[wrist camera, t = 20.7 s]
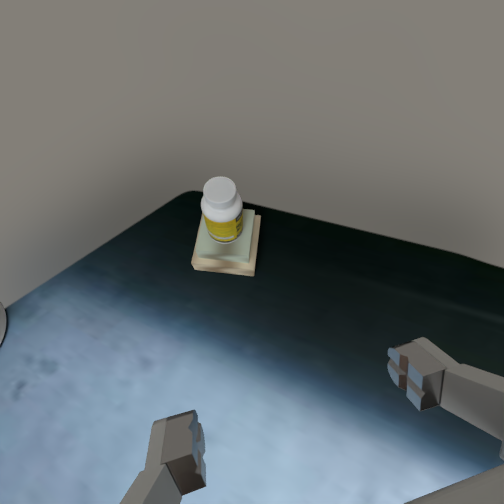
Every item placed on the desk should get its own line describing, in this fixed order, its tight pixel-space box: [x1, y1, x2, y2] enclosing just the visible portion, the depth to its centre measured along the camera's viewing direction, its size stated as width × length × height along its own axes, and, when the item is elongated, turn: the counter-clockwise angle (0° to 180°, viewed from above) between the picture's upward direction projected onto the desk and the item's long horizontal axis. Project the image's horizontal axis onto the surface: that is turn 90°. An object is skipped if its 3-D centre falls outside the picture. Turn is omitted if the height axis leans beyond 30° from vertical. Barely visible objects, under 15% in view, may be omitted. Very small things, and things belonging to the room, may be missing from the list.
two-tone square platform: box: [191, 209, 261, 276], centre depth 43 cm, size 10×10×6 cm
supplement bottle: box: [201, 176, 243, 244], centre depth 35 cm, size 5×5×10 cm
